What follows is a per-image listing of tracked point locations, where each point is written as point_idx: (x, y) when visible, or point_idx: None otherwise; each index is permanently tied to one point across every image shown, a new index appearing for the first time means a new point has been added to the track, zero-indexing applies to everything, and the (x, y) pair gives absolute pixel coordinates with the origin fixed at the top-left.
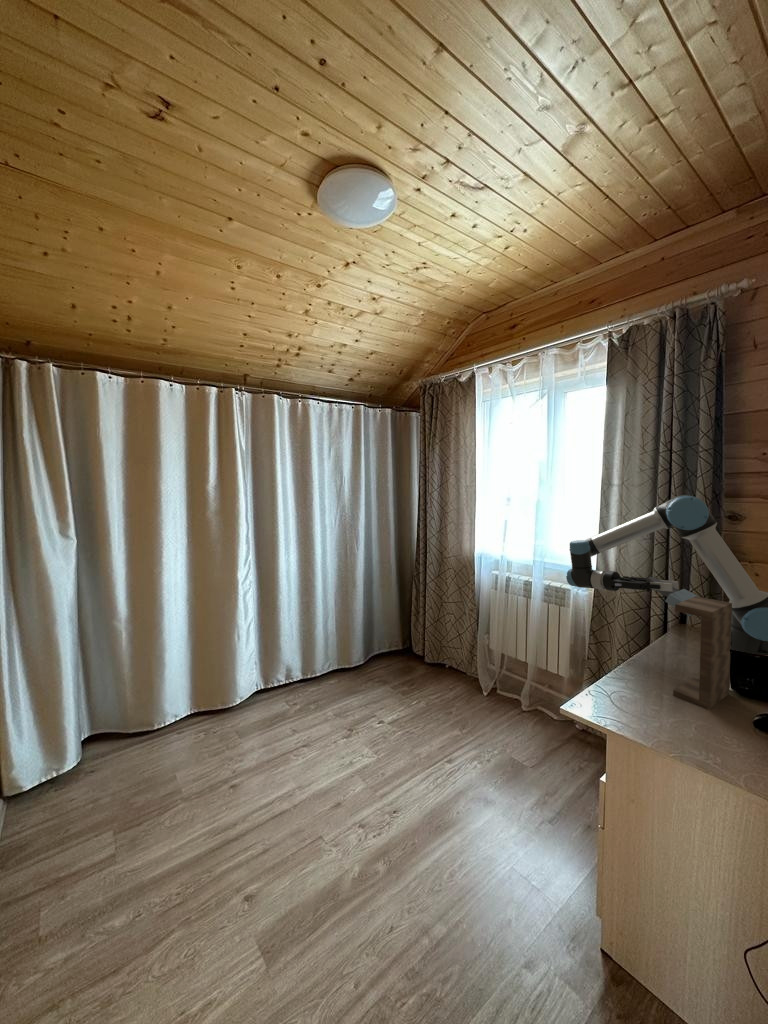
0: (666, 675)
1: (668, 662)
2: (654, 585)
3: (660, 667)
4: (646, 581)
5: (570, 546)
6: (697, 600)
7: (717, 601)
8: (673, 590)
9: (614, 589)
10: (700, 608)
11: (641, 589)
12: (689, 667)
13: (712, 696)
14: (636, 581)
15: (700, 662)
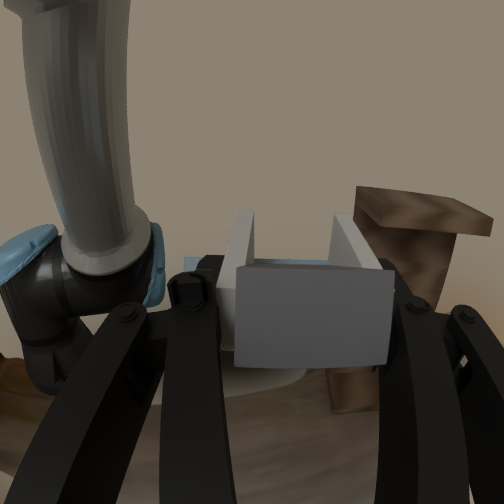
0: (348, 454)
1: (256, 484)
2: (399, 281)
3: (312, 483)
4: (388, 324)
5: None
6: (418, 203)
7: (376, 191)
8: (295, 264)
9: None
10: (458, 203)
11: (457, 368)
12: (247, 444)
13: None
14: (459, 407)
15: (434, 310)
